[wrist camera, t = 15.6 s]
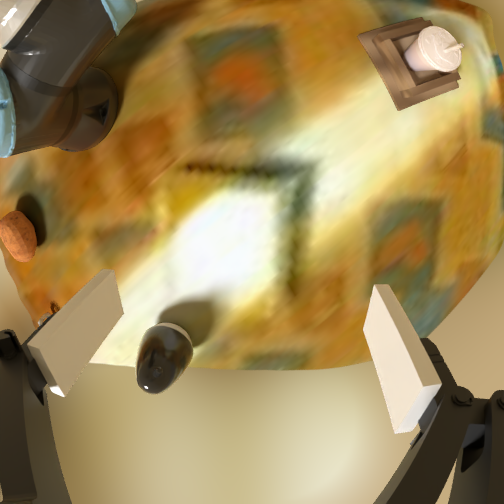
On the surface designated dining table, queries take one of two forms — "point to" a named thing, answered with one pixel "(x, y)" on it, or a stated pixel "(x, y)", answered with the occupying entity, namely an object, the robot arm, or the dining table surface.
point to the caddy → (395, 71)
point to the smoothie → (433, 51)
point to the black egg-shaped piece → (162, 357)
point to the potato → (18, 236)
